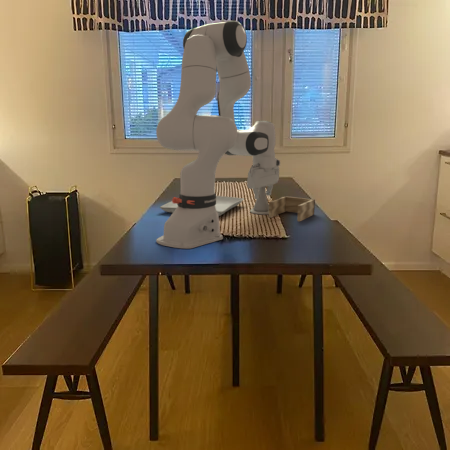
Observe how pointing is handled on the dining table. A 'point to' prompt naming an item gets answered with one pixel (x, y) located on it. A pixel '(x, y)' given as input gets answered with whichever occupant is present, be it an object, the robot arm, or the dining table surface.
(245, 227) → the dining table surface
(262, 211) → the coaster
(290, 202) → the u-shaped wooden frame
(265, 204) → the flask
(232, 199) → the square plate
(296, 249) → the dining table surface
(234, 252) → the dining table surface
